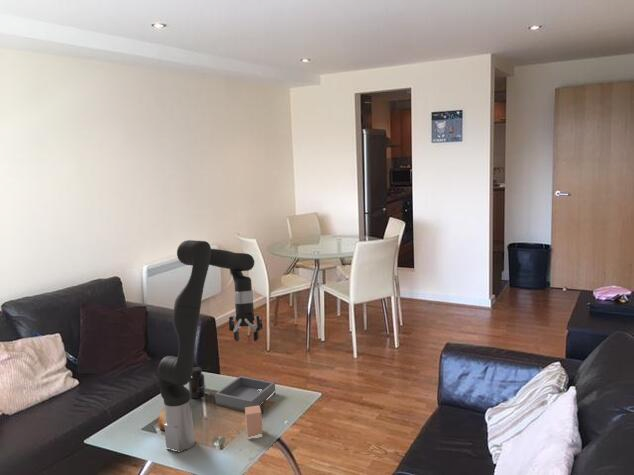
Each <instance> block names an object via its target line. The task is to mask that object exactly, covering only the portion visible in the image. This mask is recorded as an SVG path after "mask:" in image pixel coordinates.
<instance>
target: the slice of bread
mask: <svg viewBox="0 0 634 475" xmlns="http://www.w3.org/2000/svg"><path fill="white" fill-rule="evenodd" d="M157 424H158V427H159V428H160V429H161V430H162V429H163V430H162V431H164V430H165V429H164V425H165V424H166V418H165V408H164V407H163V408H162V410H161V412H160V414H159V416H158V423H157Z"/></svg>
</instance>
